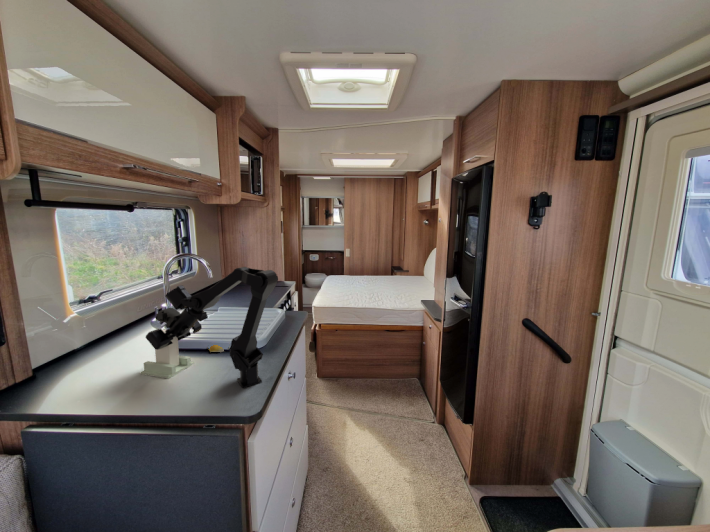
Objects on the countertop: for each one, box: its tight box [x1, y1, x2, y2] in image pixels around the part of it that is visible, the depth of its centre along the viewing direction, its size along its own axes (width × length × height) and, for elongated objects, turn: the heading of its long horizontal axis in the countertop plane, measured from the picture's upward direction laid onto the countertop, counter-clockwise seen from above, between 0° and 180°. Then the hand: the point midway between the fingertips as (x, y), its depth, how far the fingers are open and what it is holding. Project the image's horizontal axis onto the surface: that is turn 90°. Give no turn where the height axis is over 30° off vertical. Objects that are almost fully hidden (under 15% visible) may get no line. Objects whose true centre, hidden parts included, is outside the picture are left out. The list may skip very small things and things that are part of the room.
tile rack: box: [140, 354, 195, 380], centre depth 101 cm, size 12×11×4 cm
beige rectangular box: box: [154, 328, 180, 367], centre depth 101 cm, size 6×4×13 cm, turn 77°
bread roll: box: [208, 345, 225, 353], centre depth 120 cm, size 8×9×4 cm
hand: (163, 345), depth 101 cm, fingers closed on beige rectangular box, 4 cm apart
